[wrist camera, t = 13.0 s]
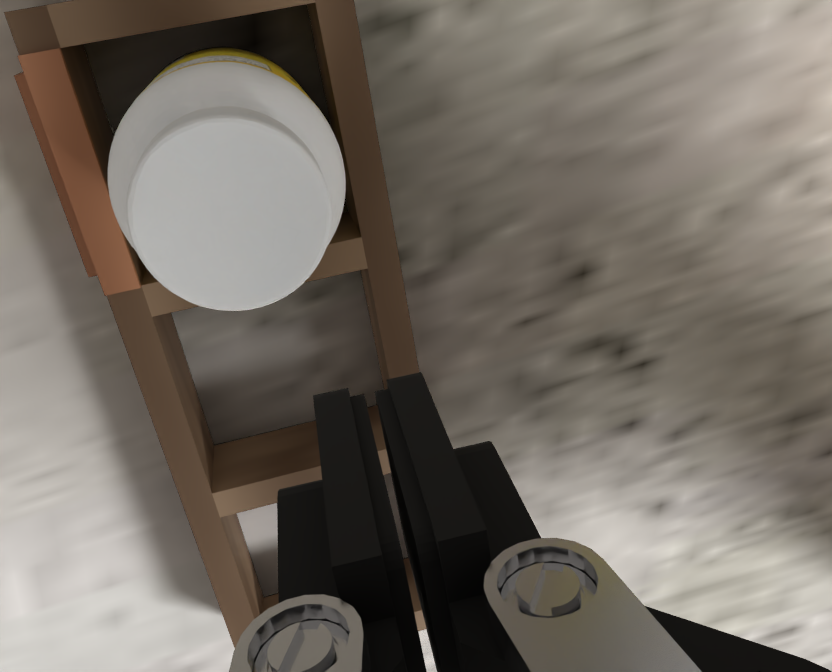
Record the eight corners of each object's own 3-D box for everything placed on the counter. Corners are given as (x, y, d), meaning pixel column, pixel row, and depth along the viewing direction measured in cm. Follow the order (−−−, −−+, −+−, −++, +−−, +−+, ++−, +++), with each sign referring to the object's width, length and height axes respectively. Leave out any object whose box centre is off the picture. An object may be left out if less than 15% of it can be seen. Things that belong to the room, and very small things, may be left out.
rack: (332, -42, 22) (346, -47, 20) (444, 566, 33) (464, 622, 30) (18, 12, 21) (-16, 15, 18) (236, 624, 32) (236, 687, 29)
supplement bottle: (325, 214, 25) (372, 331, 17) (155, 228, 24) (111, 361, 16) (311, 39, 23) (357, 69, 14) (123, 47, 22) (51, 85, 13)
